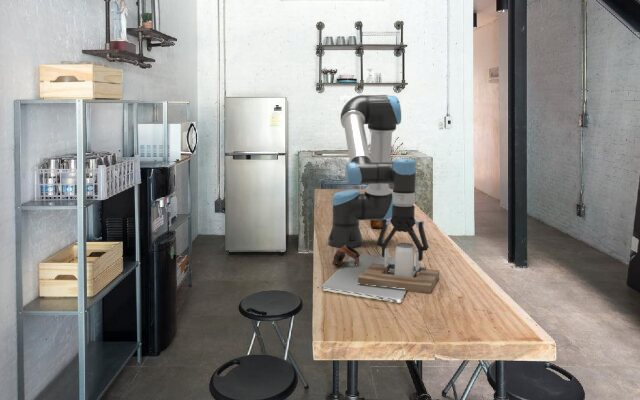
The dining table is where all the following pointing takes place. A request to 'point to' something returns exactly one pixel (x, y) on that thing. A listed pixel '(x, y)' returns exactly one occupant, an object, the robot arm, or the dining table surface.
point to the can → (404, 259)
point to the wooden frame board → (399, 279)
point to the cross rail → (392, 266)
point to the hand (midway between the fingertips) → (401, 267)
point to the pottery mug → (341, 254)
